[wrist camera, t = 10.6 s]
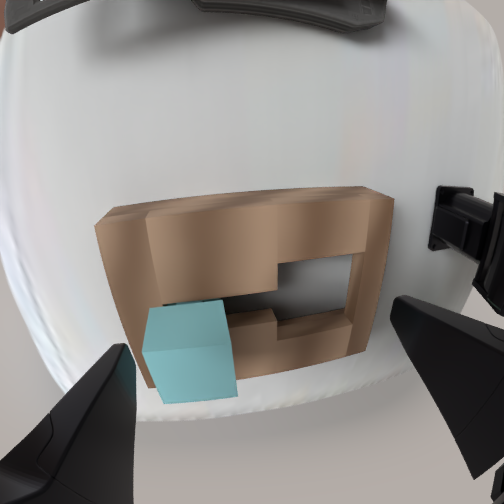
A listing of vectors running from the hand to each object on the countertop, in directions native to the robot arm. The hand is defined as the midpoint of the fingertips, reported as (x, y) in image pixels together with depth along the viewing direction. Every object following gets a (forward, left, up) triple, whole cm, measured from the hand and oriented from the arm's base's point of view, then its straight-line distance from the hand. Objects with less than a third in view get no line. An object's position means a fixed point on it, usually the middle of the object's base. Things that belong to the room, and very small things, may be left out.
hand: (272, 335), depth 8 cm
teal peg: (+3, +4, -12) cm, 13 cm away
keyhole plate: (-1, +4, -12) cm, 13 cm away
